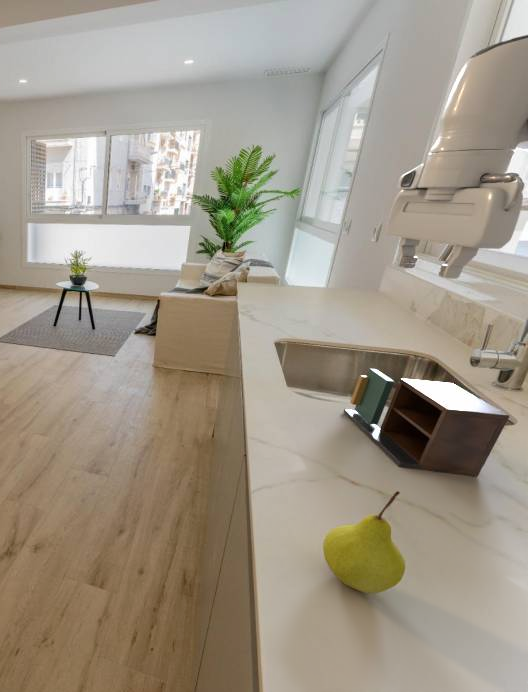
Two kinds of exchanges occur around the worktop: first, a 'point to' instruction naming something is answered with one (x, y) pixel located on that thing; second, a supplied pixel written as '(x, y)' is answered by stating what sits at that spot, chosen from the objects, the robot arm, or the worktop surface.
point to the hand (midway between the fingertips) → (425, 272)
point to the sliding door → (372, 395)
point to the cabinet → (436, 428)
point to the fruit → (365, 554)
